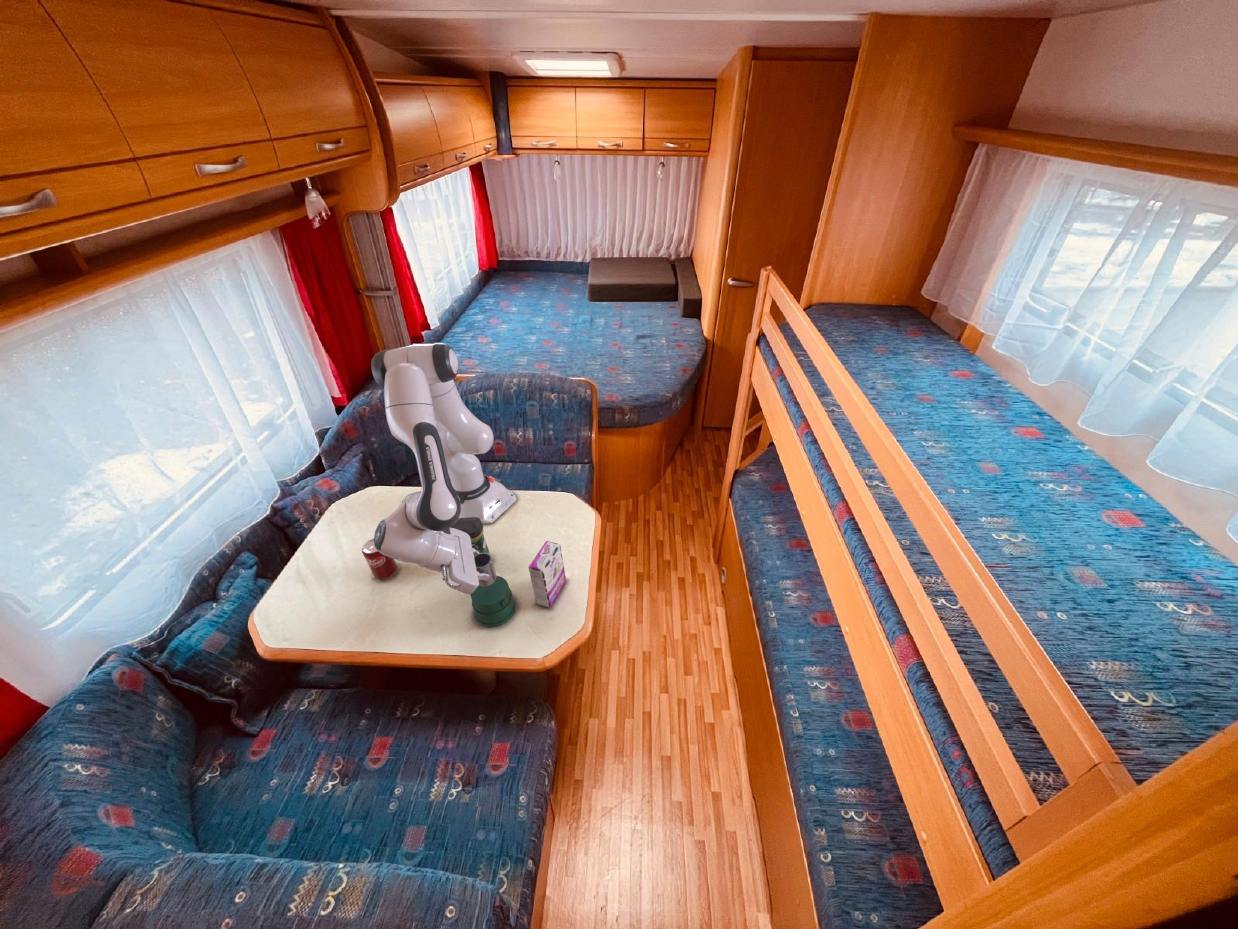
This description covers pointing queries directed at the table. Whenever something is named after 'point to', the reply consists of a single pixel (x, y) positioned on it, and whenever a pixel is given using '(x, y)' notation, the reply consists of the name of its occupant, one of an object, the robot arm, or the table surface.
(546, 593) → the candy bar box
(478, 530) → the coffee jar
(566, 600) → the table surface
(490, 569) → the steel cup
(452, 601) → the table surface
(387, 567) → the soda can
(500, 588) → the bucket
